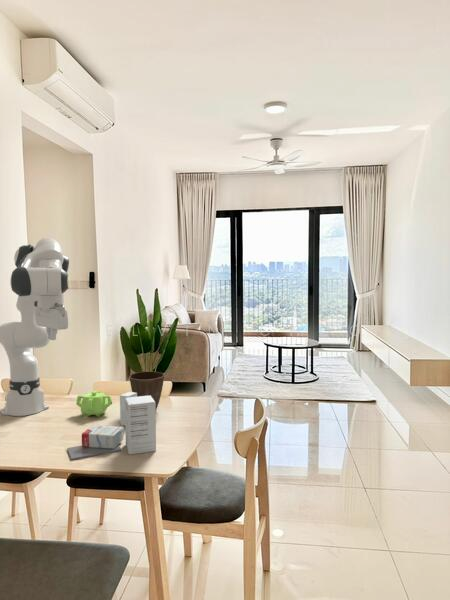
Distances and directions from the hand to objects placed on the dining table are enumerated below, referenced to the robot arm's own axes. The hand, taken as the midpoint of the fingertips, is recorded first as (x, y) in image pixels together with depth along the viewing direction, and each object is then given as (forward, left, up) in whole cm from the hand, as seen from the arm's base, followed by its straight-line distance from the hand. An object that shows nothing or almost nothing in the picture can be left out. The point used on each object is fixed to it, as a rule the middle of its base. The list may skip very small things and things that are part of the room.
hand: (52, 339), depth 157 cm
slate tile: (+25, +10, -35) cm, 44 cm away
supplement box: (+30, +25, -35) cm, 53 cm away
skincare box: (+4, +28, -35) cm, 45 cm away
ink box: (+18, +9, -32) cm, 38 cm away
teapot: (-14, +18, -35) cm, 42 cm away
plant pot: (-7, +39, -35) cm, 53 cm away
